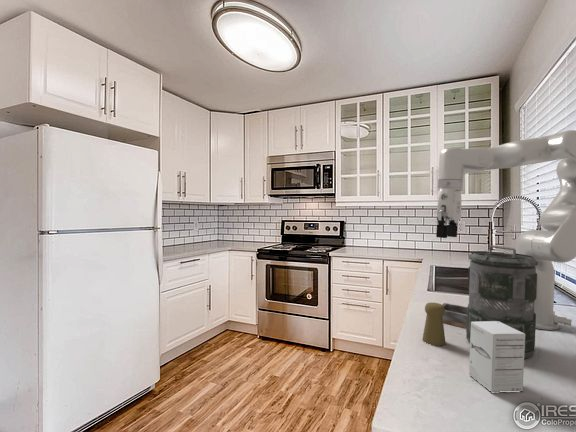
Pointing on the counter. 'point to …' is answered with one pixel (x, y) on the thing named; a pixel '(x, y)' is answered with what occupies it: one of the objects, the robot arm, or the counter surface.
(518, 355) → the supplement box
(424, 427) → the counter surface
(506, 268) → the canister
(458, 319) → the grey square tray
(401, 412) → the counter surface
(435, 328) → the olive tall flared cylinder
